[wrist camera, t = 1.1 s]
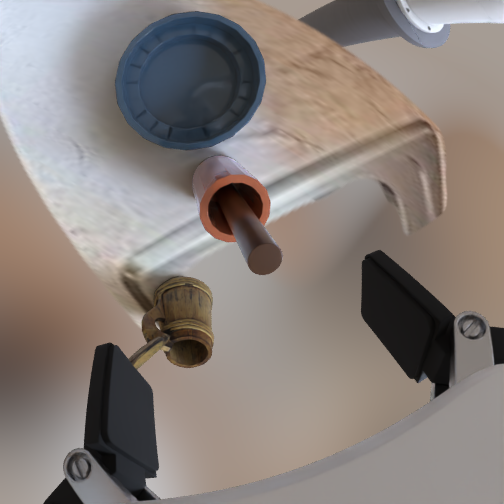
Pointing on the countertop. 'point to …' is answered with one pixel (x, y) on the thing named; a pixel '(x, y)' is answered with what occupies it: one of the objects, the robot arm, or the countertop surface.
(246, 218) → the stick
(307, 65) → the countertop surface
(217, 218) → the holder
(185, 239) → the countertop surface
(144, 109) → the bowl
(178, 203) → the countertop surface
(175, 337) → the wooden mug
